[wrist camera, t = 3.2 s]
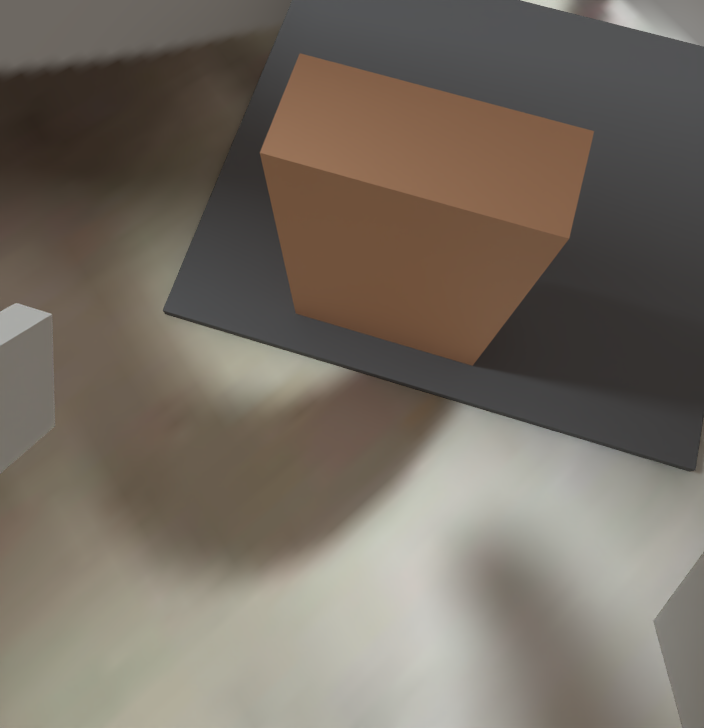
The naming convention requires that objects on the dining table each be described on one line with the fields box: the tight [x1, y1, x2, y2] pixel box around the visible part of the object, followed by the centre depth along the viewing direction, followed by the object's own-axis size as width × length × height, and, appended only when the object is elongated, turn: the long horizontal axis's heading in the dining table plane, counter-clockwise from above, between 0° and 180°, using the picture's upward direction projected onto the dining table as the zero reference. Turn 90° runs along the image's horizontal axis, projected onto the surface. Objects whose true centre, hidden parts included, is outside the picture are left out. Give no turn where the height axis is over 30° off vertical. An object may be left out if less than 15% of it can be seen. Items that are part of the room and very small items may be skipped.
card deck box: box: [260, 53, 594, 366], centre depth 20 cm, size 8×3×11 cm, turn 73°
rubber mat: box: [163, 0, 704, 471], centre depth 27 cm, size 22×20×1 cm
